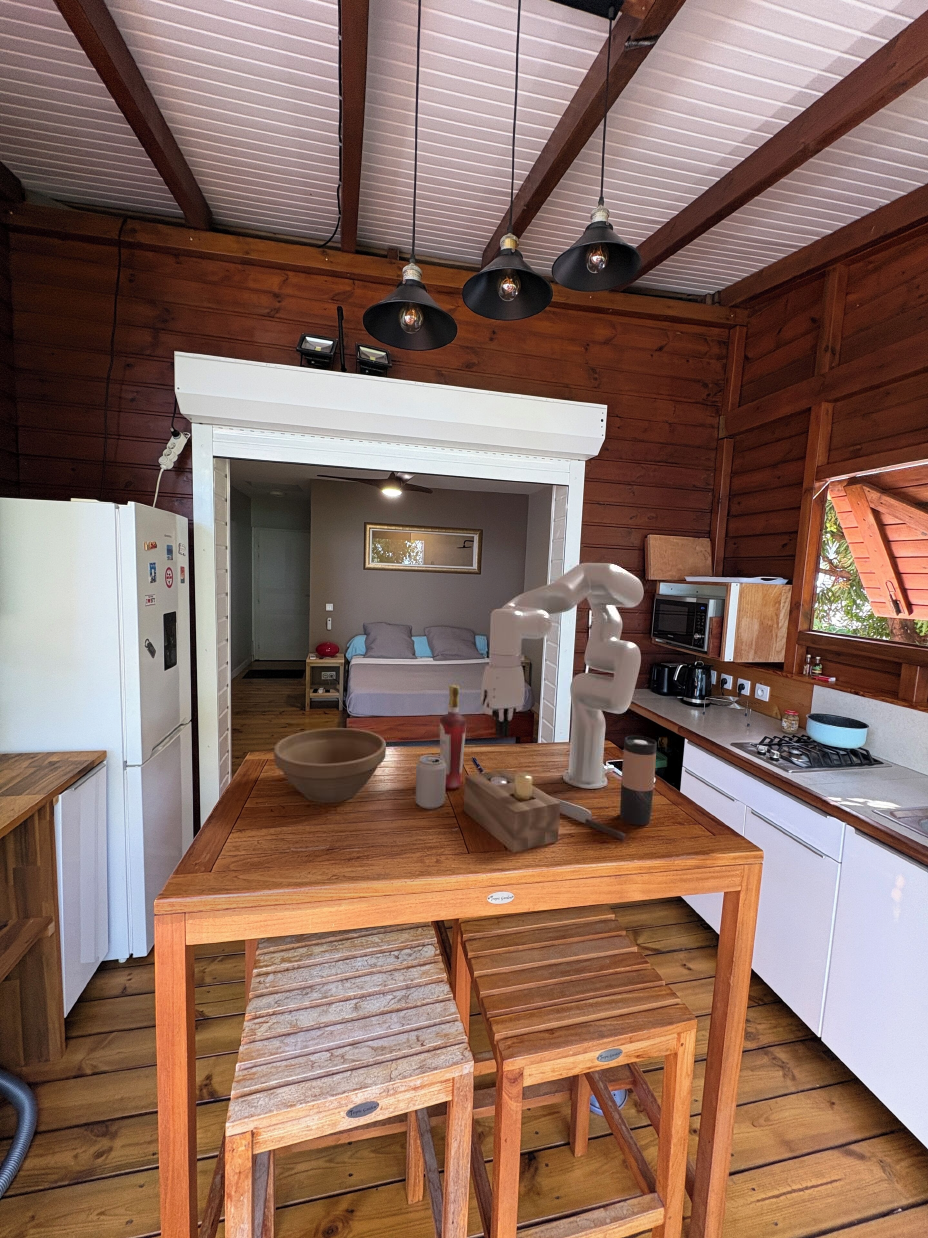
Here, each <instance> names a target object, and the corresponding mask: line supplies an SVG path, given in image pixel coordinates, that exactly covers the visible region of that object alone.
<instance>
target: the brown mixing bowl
mask: <svg viewBox="0 0 928 1238" xmlns="http://www.w3.org/2000/svg"><path fill="white" fill-rule="evenodd" d="M386 744H387V742H386V740H385V739H384V738H383V737H382V736H381V735H379V734H377V733H374V732H371V731H367V730H363V729H356V728H347V727H346V728H344V727H343V728H342V727H336V728H335V727H331V728H330V727H329V728H320V729H319V728H317V729H312V730H306V731H302V732H301V731H300V732H298V733H294V734H291V735H289V736H288V735H287V737H284V738H282V739H281V740H279V741H278V742H277V743H276V744H275V746H274V748H273V749H274V750H273V759H274V761H273V762H274V765H275V766H276V768H277V769H278V770H280V771H281V772H282V773H283V775H284V776H285V778H286V779H287V780H288V782H290V784H291V785H292V786H293V787H294V788H295V789H296V790H298V791H299V792H300V793H301V794H302V795H303V797H305V798H306V799H308V800H310V801H312V802H315V803H325V804H327V803H338V802H343V801H346V800H349V799H350V798H353V797H354V796H355V795H357V794H358V792H360V790H361V789H362V788H363V787H364V786H365V785H366V784H367V783H368V782H369V781H370V780H371V778H372V776H373V775H375V772H376V771H377V768H378V767H379V766H380V765H381V764H382V763H383V762H384V761H385V759H386V751H387V745H386Z"/></svg>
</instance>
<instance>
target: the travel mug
mask: <svg viewBox="0 0 928 1238" xmlns="http://www.w3.org/2000/svg"><path fill="white" fill-rule="evenodd" d="M656 756H657V741H656V740H655V739H654V738H653V739H652V738H650V737H646V736H643V735H629V736H626V737H625V738H624V746H623V757H622V768H621V769H622V770H621V780H620V781H621V782H620V806H619V807H620V808H619V817H620V819H621V820H622V821H623V822H625V823H627V824H631V825H634V826H645V825H648V824H649V823H651V813H652V807H653V805H652V804H653V796H654V789H655V776H656V775H655V773H656V758H657V757H656Z"/></svg>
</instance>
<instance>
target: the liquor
mask: <svg viewBox="0 0 928 1238" xmlns="http://www.w3.org/2000/svg"><path fill="white" fill-rule="evenodd" d="M448 690H449V702H448V710H447V713H446V714H443V716H440V718H439V749H440V752H439V756H441V757H443V758H444V762H445V764H446V784H445V790H456V789H458V788H460V787H461V786H462V784H463V782H464V781H463V779H462V776H463V764H464V762H463V761H464V753H465V752H464V751H465V742H466V741H465V740H466V730H467V718H466V717H464V716H463V715H462V714H460V712H459V711H460V710H459V696H460V686H458V685H449V689H448Z"/></svg>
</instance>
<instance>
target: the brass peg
mask: <svg viewBox="0 0 928 1238" xmlns="http://www.w3.org/2000/svg"><path fill="white" fill-rule="evenodd" d="M514 774H515V782H514V799H516V800H517V801H519V802H524V801H529V800H531V797H532V785H533V778H534V777H533V774H532V773H530V772H526V771H519V772H516V773H514Z"/></svg>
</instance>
